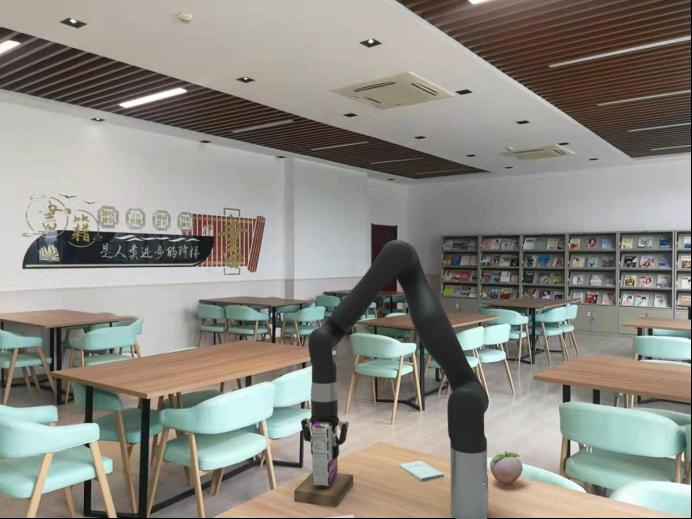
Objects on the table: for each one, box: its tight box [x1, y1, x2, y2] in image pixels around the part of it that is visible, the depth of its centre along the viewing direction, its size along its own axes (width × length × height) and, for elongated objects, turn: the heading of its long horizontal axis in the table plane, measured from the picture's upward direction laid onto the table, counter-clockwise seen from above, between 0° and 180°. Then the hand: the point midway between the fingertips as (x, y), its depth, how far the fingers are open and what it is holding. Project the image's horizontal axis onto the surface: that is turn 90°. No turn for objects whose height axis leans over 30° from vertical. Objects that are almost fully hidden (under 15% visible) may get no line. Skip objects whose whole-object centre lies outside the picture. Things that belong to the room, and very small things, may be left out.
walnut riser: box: [293, 471, 354, 508], centre depth 152 cm, size 12×15×3 cm
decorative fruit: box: [489, 450, 524, 486], centre depth 157 cm, size 9×8×10 cm
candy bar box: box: [311, 421, 339, 486], centre depth 152 cm, size 11×5×16 cm, turn 168°
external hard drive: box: [399, 460, 445, 483], centre depth 167 cm, size 2×8×12 cm
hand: (324, 457), depth 152 cm, fingers closed on candy bar box, 5 cm apart
